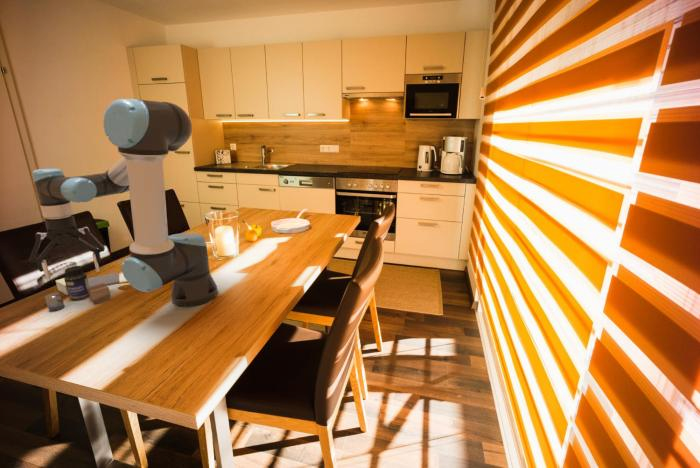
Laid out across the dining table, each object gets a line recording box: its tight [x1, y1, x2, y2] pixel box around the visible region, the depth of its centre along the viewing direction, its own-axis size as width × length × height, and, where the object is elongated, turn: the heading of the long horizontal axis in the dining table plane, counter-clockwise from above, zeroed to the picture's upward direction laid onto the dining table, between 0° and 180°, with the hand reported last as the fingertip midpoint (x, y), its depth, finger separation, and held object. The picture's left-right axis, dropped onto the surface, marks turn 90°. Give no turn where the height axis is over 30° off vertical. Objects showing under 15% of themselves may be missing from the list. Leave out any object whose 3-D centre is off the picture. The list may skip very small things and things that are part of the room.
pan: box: [270, 208, 311, 235], centre depth 209 cm, size 24×43×6 cm, turn 169°
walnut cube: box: [87, 283, 112, 306], centre depth 117 cm, size 5×5×5 cm
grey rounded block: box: [44, 292, 65, 313], centre depth 111 cm, size 4×4×5 cm
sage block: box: [55, 277, 69, 296], centre depth 124 cm, size 8×4×4 cm, turn 59°
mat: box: [87, 272, 120, 287], centre depth 131 cm, size 11×11×1 cm
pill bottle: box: [63, 265, 89, 301], centre depth 118 cm, size 6×6×11 cm
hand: (74, 274), depth 117 cm, fingers open, 13 cm apart
